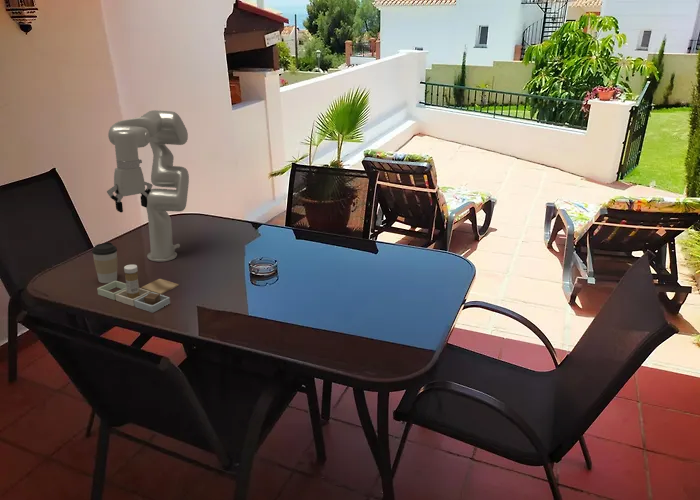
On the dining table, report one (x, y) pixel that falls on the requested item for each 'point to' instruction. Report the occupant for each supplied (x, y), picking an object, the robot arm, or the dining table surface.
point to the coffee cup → (105, 262)
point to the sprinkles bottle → (132, 281)
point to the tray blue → (152, 308)
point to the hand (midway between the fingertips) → (132, 209)
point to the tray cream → (124, 299)
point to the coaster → (160, 286)
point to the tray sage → (105, 289)
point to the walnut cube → (152, 298)
